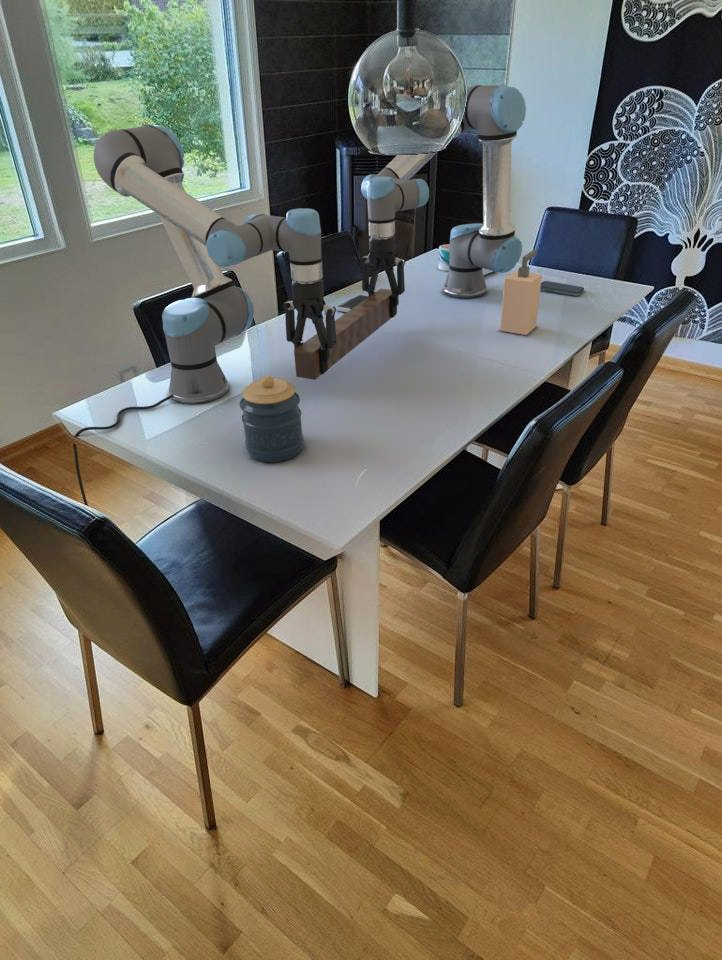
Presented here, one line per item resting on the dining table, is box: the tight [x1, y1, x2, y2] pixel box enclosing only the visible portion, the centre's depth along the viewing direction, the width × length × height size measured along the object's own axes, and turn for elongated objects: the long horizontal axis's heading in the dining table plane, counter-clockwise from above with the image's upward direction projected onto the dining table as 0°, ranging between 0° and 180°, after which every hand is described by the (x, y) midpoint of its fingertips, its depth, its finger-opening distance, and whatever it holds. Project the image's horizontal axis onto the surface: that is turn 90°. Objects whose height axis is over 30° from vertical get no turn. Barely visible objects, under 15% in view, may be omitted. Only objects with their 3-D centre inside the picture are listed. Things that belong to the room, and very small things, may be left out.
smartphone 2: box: [540, 280, 585, 297], centre depth 238 cm, size 8×2×15 cm
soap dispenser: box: [499, 249, 543, 336], centre depth 204 cm, size 13×9×22 cm
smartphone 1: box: [335, 294, 368, 313], centre depth 231 cm, size 8×1×15 cm
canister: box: [239, 374, 305, 463], centre depth 146 cm, size 13×13×18 cm
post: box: [293, 288, 398, 381], centre depth 186 cm, size 52×5×7 cm, turn 154°
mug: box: [438, 243, 450, 272], centre depth 266 cm, size 8×12×8 cm
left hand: (313, 369), depth 171 cm, fingers closed on post, 6 cm apart
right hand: (383, 314), depth 205 cm, fingers closed on post, 5 cm apart
